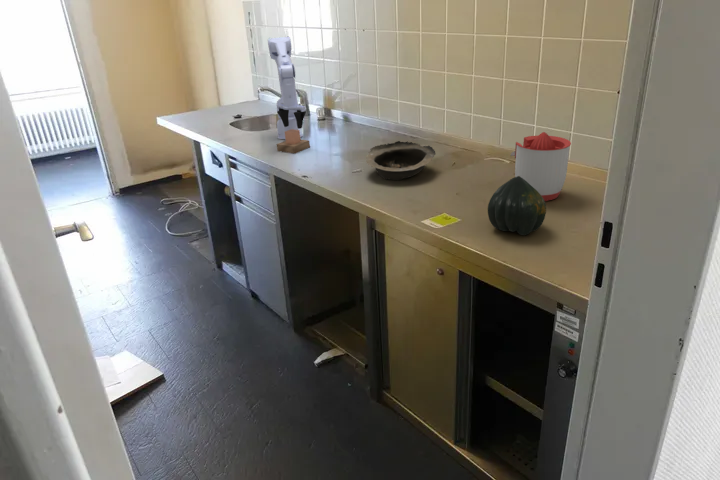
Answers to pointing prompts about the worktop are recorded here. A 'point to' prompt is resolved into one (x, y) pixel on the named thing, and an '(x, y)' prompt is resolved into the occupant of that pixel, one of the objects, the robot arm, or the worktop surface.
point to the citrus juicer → (543, 163)
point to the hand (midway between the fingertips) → (293, 127)
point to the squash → (517, 207)
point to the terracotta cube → (292, 136)
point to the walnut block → (293, 146)
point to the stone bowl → (399, 159)
